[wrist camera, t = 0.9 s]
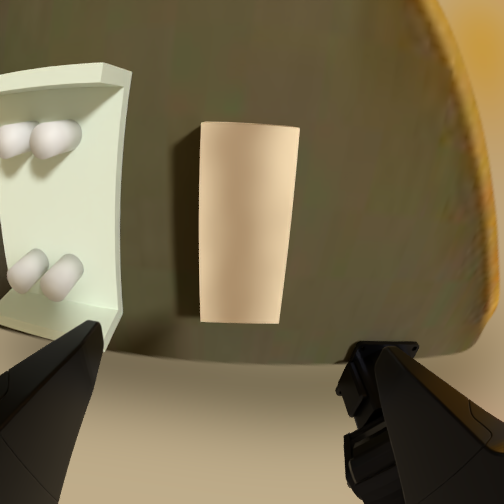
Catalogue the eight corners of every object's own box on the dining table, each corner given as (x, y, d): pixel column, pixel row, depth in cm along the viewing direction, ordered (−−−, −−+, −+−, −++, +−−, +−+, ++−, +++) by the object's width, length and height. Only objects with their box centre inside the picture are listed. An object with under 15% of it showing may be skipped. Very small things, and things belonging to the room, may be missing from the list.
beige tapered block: (290, 126, 18) (299, 128, 15) (273, 298, 23) (278, 323, 20) (206, 121, 18) (201, 122, 15) (203, 296, 23) (200, 321, 20)
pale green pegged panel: (132, 72, 16) (103, 62, 12) (122, 313, 23) (104, 352, 19) (9, 81, 15) (-32, 82, 11) (20, 292, 22) (-7, 322, 17)
